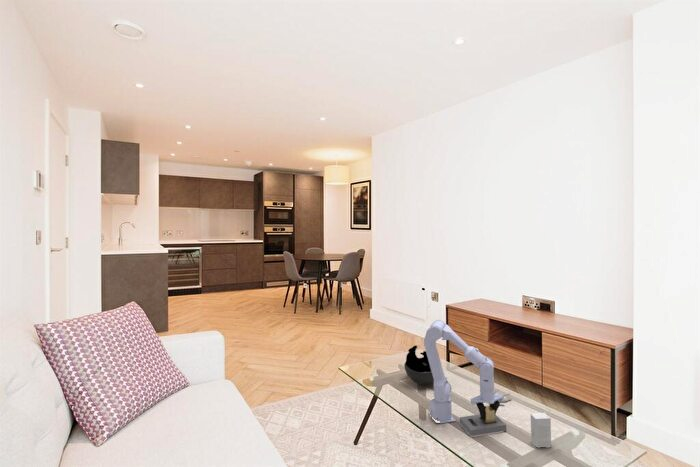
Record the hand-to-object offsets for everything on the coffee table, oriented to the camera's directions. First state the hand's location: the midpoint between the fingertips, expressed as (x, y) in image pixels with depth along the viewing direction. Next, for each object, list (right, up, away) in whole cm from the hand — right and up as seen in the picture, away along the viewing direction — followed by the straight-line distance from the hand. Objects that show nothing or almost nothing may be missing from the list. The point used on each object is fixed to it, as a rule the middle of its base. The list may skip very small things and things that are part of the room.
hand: (487, 418), depth 160 cm
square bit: (0, -3, 0) cm, 3 cm away
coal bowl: (-19, -2, +43) cm, 48 cm away
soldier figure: (+14, -3, +20) cm, 24 cm away
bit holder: (-2, -4, 0) cm, 5 cm away
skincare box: (+16, -4, -13) cm, 21 cm away
